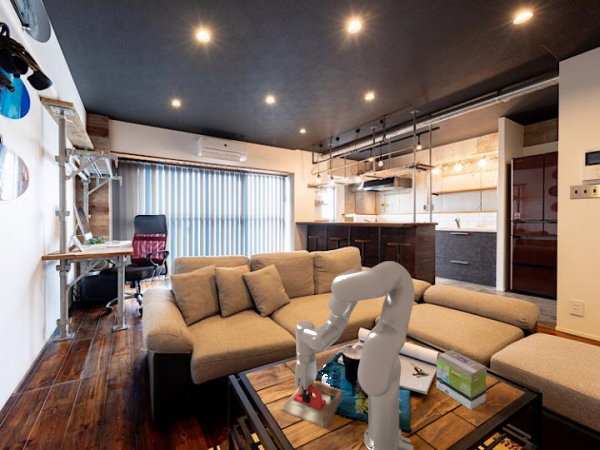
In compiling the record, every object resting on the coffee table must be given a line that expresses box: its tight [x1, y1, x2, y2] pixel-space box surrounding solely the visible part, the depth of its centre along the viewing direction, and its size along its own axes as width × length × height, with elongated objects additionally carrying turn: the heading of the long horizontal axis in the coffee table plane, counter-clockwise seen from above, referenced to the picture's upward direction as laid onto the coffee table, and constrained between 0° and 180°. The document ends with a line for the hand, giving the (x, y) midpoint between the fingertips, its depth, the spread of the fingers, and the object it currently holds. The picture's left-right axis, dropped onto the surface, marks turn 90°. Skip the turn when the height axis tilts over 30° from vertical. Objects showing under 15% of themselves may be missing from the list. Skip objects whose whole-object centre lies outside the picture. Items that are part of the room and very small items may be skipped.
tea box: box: [436, 349, 488, 411], centre depth 113 cm, size 15×10×15 cm, turn 27°
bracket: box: [294, 386, 326, 410], centre depth 109 cm, size 12×4×8 cm, turn 60°
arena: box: [280, 380, 343, 430], centre depth 109 cm, size 19×16×4 cm
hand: (307, 400), depth 108 cm, fingers closed on bracket, 1 cm apart
